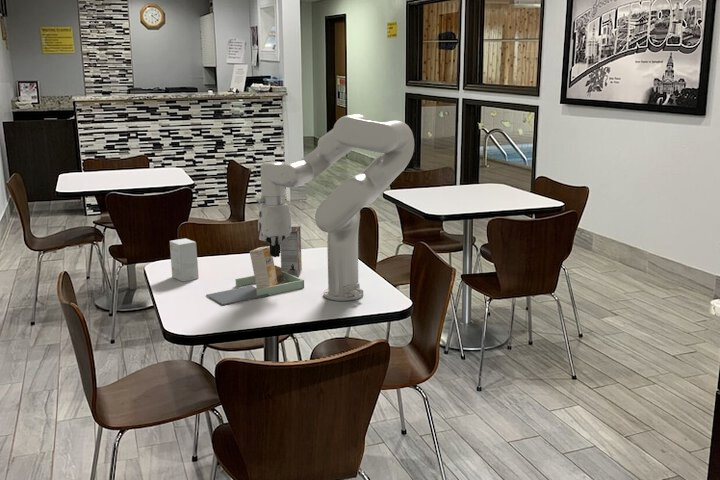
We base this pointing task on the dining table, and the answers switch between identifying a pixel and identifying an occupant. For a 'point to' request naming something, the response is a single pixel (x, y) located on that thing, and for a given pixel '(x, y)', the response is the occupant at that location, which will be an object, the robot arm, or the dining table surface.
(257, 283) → the supplement box
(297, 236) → the coffee box
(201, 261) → the dining table surface
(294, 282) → the tray
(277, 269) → the walnut block
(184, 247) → the small box
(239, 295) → the mat
